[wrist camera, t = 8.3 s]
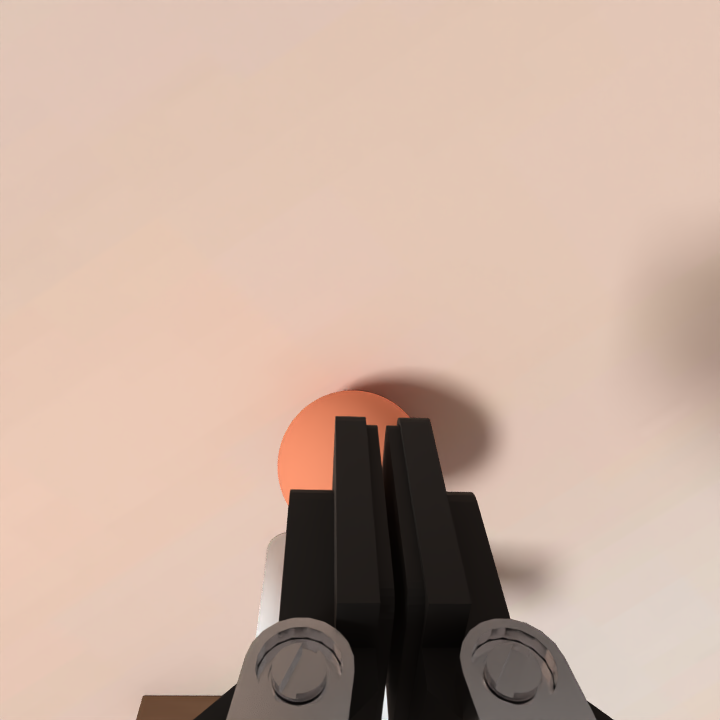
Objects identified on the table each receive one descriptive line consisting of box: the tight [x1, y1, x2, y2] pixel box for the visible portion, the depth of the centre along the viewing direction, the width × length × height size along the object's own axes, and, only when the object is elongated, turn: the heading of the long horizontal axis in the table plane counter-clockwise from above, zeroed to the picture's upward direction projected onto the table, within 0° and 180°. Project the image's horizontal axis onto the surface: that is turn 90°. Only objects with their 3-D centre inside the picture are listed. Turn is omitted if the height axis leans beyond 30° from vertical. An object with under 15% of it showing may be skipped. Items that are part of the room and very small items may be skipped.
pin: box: [256, 533, 286, 638], centre depth 28 cm, size 2×2×8 cm
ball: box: [278, 390, 410, 506], centre depth 26 cm, size 6×6×6 cm
